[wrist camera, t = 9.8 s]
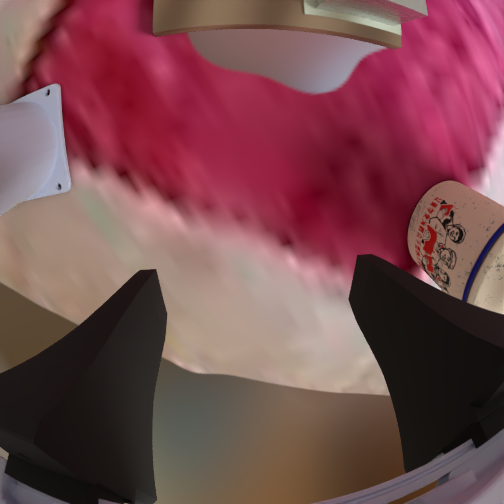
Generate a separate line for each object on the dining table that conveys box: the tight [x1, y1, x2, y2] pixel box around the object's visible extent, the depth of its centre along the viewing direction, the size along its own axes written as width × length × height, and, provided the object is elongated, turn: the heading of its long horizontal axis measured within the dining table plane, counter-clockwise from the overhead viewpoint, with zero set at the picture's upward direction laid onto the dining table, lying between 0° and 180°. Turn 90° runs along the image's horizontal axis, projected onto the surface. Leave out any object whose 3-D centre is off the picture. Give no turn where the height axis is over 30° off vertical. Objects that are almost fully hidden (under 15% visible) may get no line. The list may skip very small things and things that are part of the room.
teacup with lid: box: [408, 181, 504, 314], centre depth 17 cm, size 12×9×12 cm
